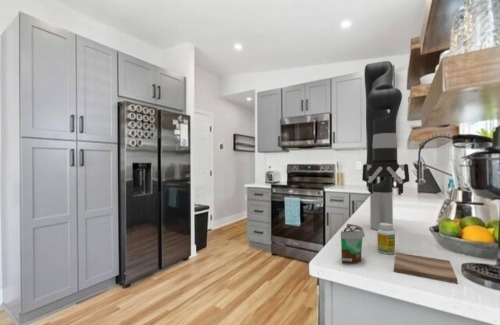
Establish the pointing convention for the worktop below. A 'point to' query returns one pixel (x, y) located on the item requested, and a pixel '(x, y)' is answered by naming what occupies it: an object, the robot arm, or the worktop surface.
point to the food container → (351, 244)
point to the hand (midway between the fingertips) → (385, 194)
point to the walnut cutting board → (424, 267)
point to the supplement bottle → (386, 238)
